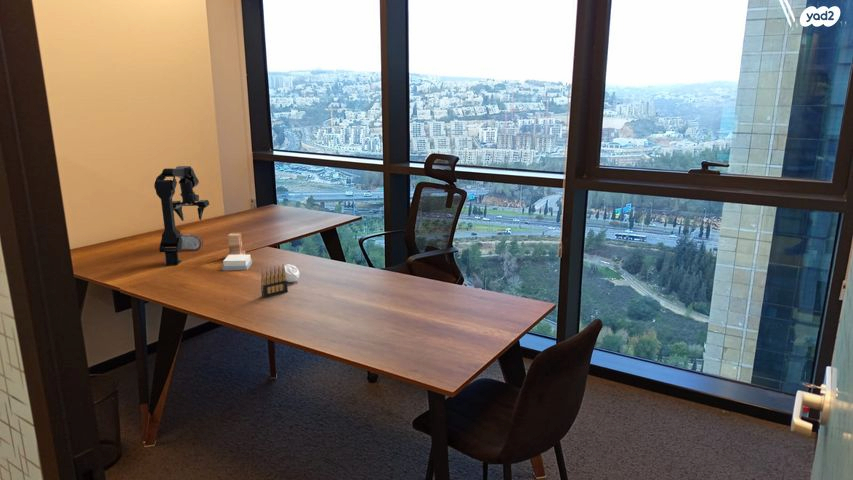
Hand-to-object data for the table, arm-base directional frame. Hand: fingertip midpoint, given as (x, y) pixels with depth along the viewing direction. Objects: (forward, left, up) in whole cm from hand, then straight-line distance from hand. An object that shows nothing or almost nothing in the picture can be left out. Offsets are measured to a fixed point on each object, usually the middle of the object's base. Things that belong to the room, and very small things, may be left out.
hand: (191, 220), depth 299 cm
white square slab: (-34, -30, -13) cm, 47 cm away
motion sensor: (-58, -58, -15) cm, 83 cm away
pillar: (-20, -26, -15) cm, 36 cm away
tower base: (-34, -30, -15) cm, 48 cm away
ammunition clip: (-73, -54, -15) cm, 92 cm away
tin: (-4, +2, -15) cm, 15 cm away
